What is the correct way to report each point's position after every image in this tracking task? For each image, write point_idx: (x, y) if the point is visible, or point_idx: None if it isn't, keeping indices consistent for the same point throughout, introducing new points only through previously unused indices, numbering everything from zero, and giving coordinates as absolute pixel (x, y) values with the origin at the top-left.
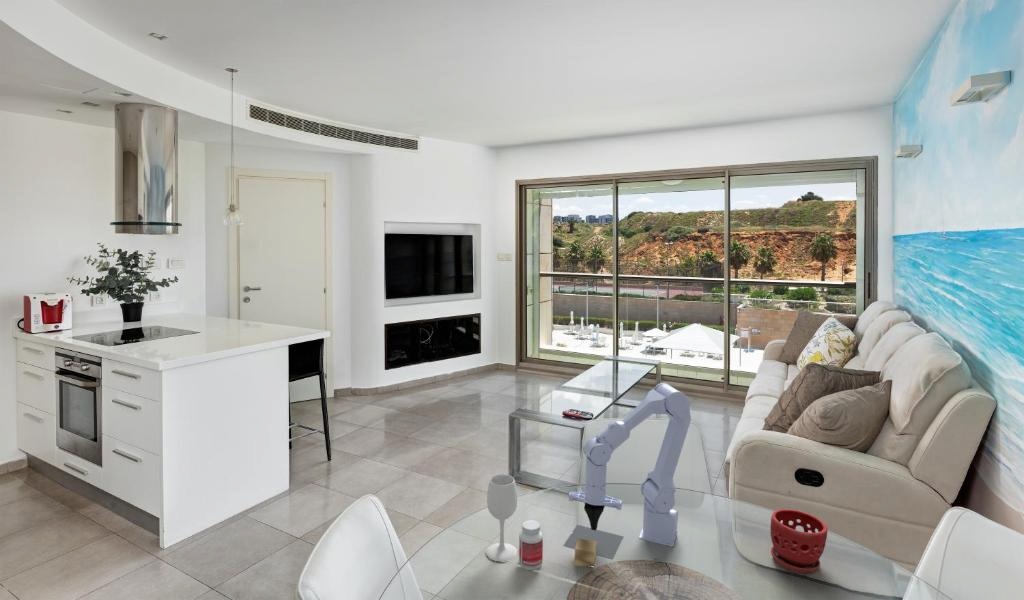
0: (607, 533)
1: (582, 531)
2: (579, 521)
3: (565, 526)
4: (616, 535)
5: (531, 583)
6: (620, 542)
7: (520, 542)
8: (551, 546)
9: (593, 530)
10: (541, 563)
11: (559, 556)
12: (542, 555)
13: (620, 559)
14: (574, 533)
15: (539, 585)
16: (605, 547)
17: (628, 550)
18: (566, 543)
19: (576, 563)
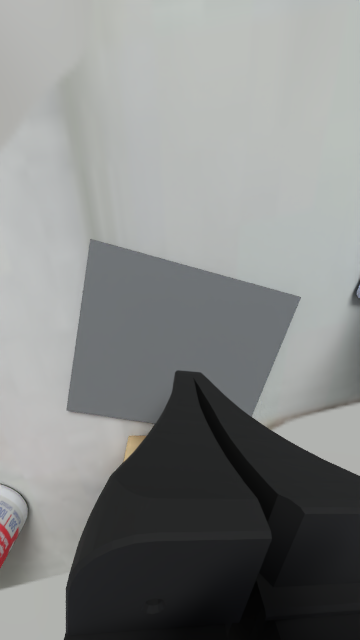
0: (236, 289)
1: (126, 295)
2: (97, 188)
3: (37, 255)
4: (272, 295)
5: (28, 561)
6: (281, 341)
7: None
8: (24, 412)
9: (175, 277)
10: (21, 526)
11: (70, 453)
12: (4, 549)
13: (265, 420)
14: (93, 320)
15: (51, 561)
16: (223, 385)
17: (298, 371)
18: (75, 394)
19: None
